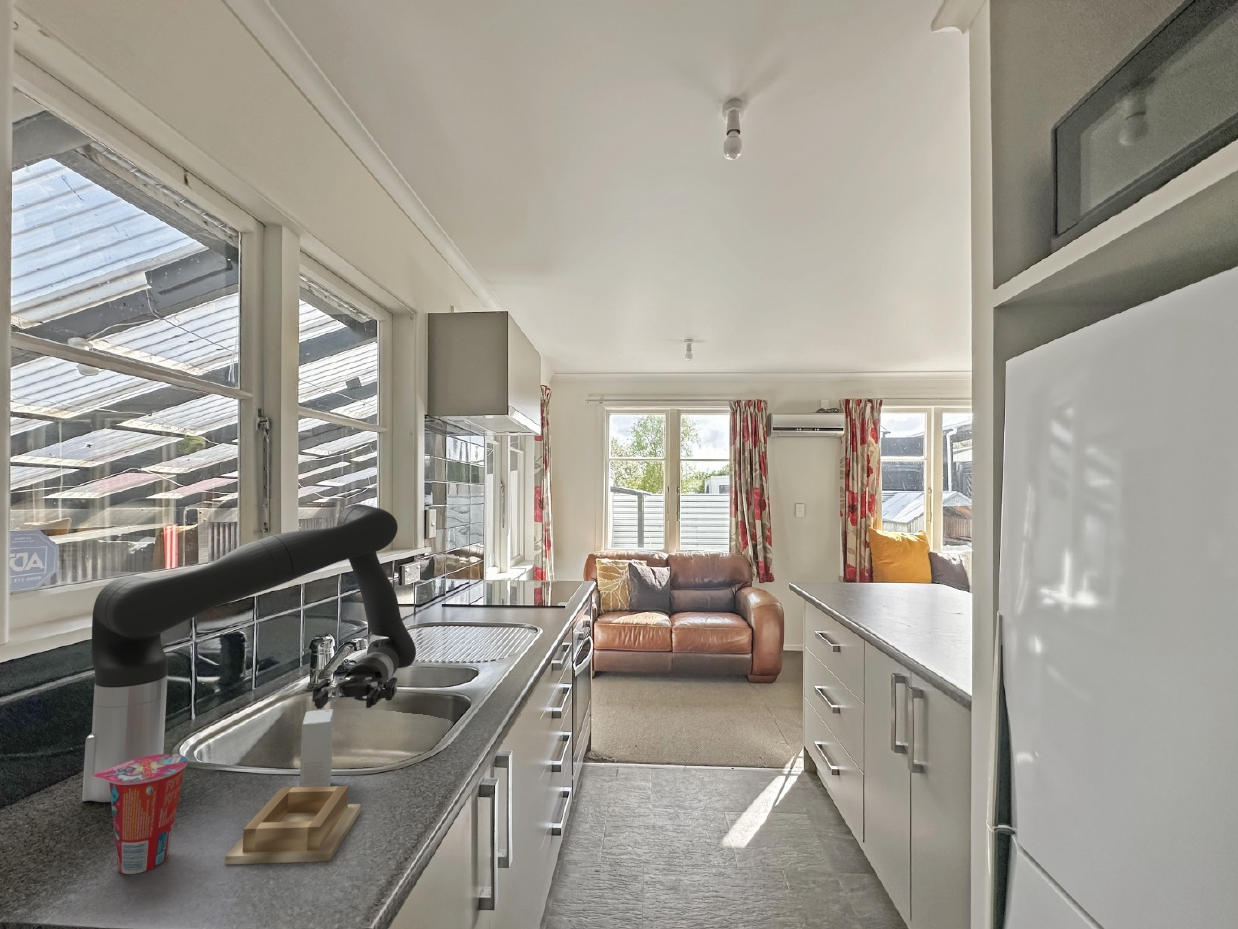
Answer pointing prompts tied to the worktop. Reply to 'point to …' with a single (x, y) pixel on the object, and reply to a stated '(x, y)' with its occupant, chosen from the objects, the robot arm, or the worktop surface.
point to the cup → (144, 808)
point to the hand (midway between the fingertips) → (343, 703)
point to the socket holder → (297, 827)
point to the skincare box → (316, 749)
